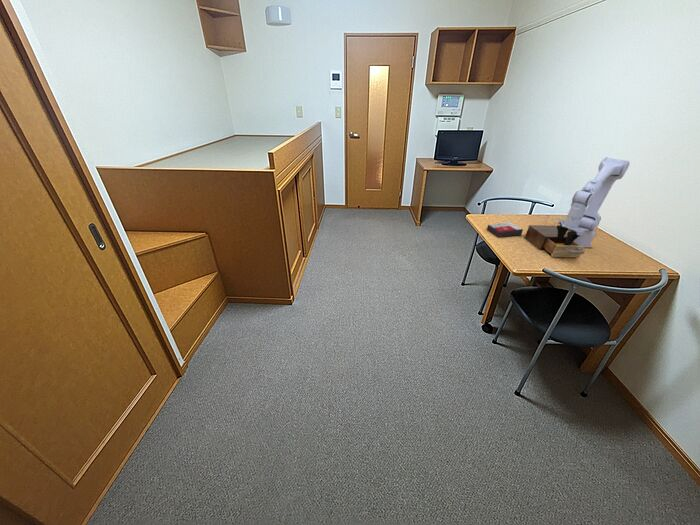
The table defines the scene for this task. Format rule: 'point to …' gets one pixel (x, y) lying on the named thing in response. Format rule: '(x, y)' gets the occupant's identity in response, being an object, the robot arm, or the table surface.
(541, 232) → the cabinet
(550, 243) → the drawer
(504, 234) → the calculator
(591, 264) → the table surface
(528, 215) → the table surface
